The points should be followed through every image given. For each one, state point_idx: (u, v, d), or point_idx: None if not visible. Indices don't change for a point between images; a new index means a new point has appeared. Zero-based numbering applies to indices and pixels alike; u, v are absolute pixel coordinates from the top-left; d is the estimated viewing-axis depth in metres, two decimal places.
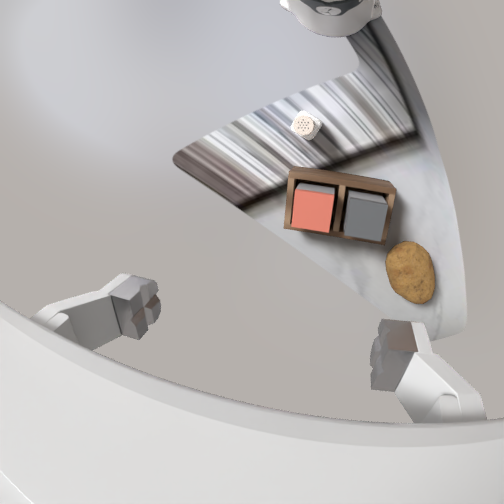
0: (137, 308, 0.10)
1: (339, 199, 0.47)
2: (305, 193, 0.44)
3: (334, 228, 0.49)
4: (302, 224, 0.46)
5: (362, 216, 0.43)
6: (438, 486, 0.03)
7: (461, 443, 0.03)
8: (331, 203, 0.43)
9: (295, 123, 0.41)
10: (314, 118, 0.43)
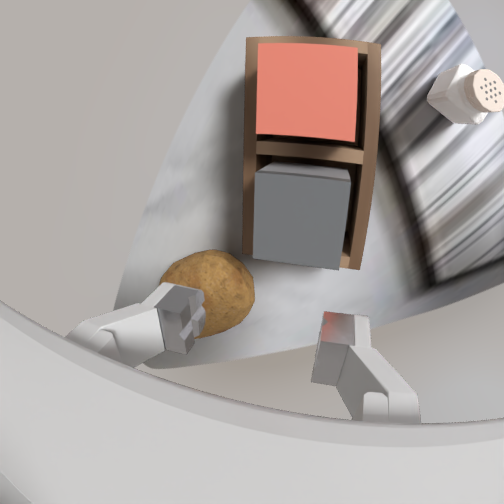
0: (186, 321, 0.09)
1: (330, 150, 0.20)
2: (352, 71, 0.14)
3: (262, 144, 0.21)
4: (268, 67, 0.15)
5: (308, 213, 0.18)
6: (438, 486, 0.03)
7: (461, 443, 0.03)
8: (334, 135, 0.16)
9: (492, 75, 0.12)
10: (485, 113, 0.15)
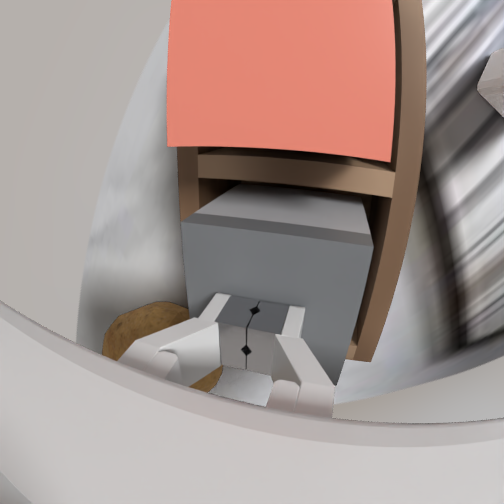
0: None
1: (333, 171, 0.11)
2: (380, 0, 0.05)
3: (207, 159, 0.12)
4: (191, 6, 0.06)
5: (283, 301, 0.10)
6: (438, 486, 0.03)
7: (461, 443, 0.03)
8: (341, 145, 0.07)
9: None
10: None
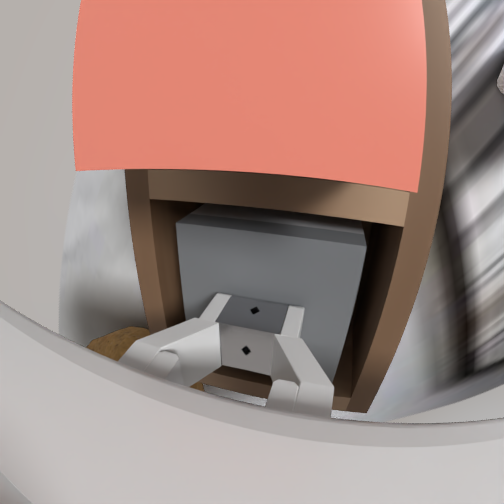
0: None
1: (324, 190, 0.08)
2: None
3: (158, 175, 0.09)
4: None
5: (278, 301, 0.10)
6: (438, 486, 0.03)
7: (461, 443, 0.03)
8: (332, 162, 0.04)
9: None
10: None
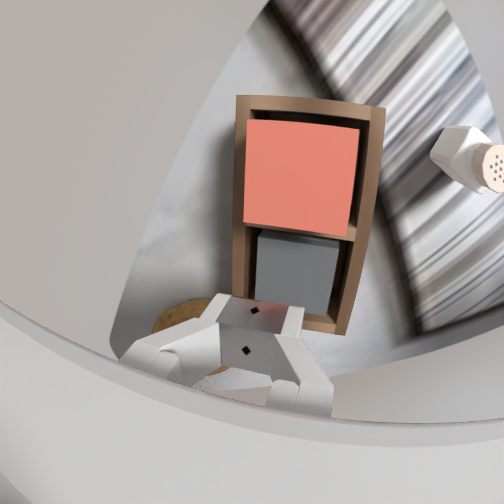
0: None
1: None
2: (350, 158, 0.14)
3: None
4: (257, 150, 0.16)
5: (301, 272, 0.22)
6: (438, 486, 0.03)
7: (461, 443, 0.03)
8: (324, 229, 0.16)
9: None
10: None
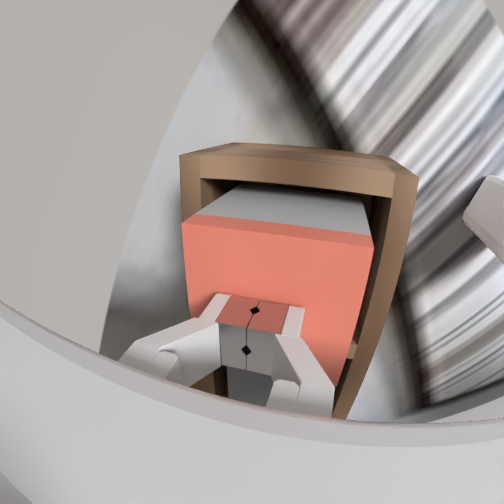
0: None
1: None
2: (353, 294, 0.09)
3: None
4: (202, 272, 0.10)
5: None
6: (438, 486, 0.03)
7: (461, 443, 0.03)
8: None
9: None
10: None
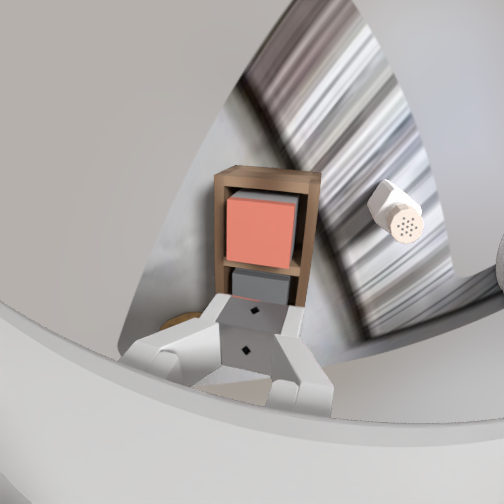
0: None
1: (276, 267, 0.30)
2: (289, 224, 0.26)
3: None
4: (233, 218, 0.27)
5: (263, 296, 0.32)
6: (438, 486, 0.03)
7: (461, 443, 0.03)
8: (275, 264, 0.28)
9: (411, 213, 0.22)
10: None
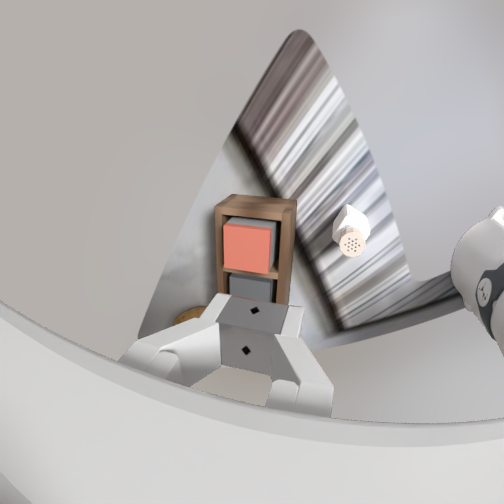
0: None
1: None
2: (267, 242, 0.37)
3: None
4: (228, 238, 0.38)
5: (252, 294, 0.43)
6: (438, 486, 0.03)
7: (461, 443, 0.03)
8: (258, 271, 0.39)
9: (355, 235, 0.33)
10: None
